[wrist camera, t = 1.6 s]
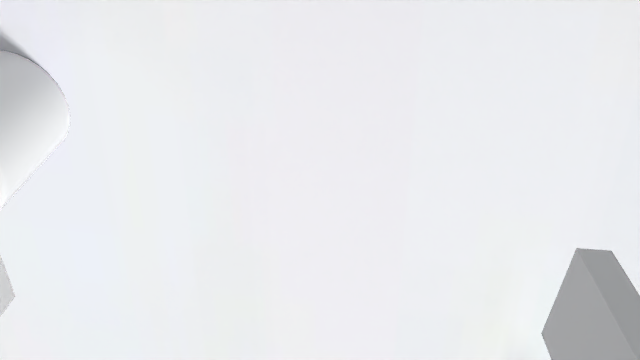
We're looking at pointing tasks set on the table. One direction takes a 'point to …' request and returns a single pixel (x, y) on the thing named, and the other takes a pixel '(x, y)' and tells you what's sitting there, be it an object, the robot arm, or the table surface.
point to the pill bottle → (27, 121)
